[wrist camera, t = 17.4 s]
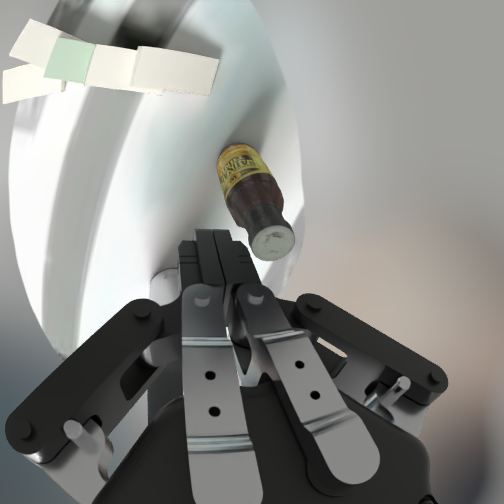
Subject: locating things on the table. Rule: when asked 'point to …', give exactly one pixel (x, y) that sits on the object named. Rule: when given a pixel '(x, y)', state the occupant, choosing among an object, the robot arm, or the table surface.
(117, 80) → the domino
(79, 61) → the domino
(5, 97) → the domino
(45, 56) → the domino
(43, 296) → the table surface
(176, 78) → the domino
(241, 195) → the sauce bottle
